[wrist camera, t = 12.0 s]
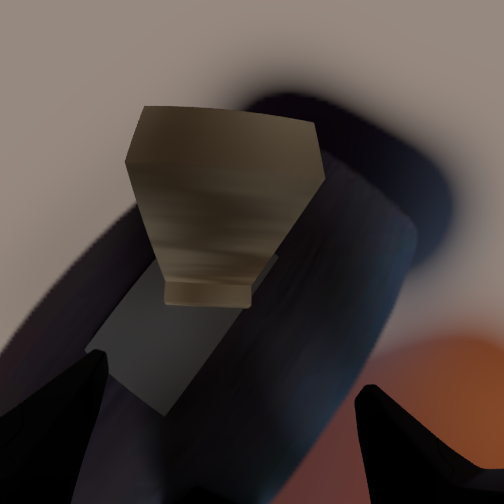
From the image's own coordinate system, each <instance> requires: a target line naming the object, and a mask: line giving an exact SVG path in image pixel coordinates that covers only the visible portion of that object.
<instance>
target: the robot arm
mask: <svg viewBox="0 0 504 504" xmlns="http://www.w3.org/2000/svg"><path fill="white" fill-rule="evenodd" d="M108 373H109V366H108V359H107V353H106V352H105V351H102V350H98V349H93V350H92V351H90V352H89V353H88V354H86V355H85V356H83V357H82V358H81V359H79V360H78V361H77V362H75V363H74V364H72V365H71V366H70V367H68V368H67V369H66V370H64V371H63V372H61V373H60V374H59V375H57V376H56V377H55V378H53V379H52V380H50V381H49V382H48V383H46V384H45V385H44V386H42V387H41V388H40V389H38V390H37V391H36V392H34V393H33V394H31V395H30V396H29V397H27V398H26V399H25V400H23V401H22V403H19V404H18V405H16V406H15V407H14V408H12V409H11V410H10V411H8V412H7V413H5V414H4V415H2V416H1V417H0V504H71V500H72V496H73V492H74V489H75V485H76V481H77V478H78V475H79V471H80V468H81V464H82V461H83V458H84V455H85V452H86V449H87V446H88V443H89V440H90V437H91V434H92V431H93V428H94V425H95V422H96V420H97V417H98V414H99V410H100V406H101V402H102V398H103V393H104V389H105V385H106V381H107V378H108ZM355 412H356V421H357V430H358V438H359V443H360V447H361V453H362V457H363V462H364V467H365V473H366V478H367V483H368V489H369V495H370V501H371V504H504V469H483V468H480V467H478V466H476V465H474V464H473V463H471V462H470V461H468V460H467V459H465V458H464V457H462V456H461V455H460V454H458V453H457V452H455V451H454V450H452V449H451V448H450V447H448V446H447V445H446V444H445V443H443V442H442V441H441V440H440V439H439V438H437V437H436V436H435V435H434V434H433V433H431V432H430V431H429V430H428V429H427V428H426V427H424V426H423V425H422V424H421V423H420V422H419V421H417V420H416V419H415V418H414V417H413V416H411V415H410V414H409V413H408V412H407V411H406V410H405V409H403V408H402V407H401V406H400V405H399V404H398V403H396V402H395V401H394V400H393V399H392V398H391V397H389V396H388V395H387V394H386V393H385V392H384V391H382V390H381V389H380V388H379V387H378V386H377V385H374V384H372V385H371V384H370V385H366V386H364V387H363V389H362V390H361V391H360V393H359V394H358V395H357V397H356V398H355ZM196 491H199V492H201V494H196V493H195V492H196ZM173 504H236V503H234V502H231V501H229V500H227V499H225V498H222V497H220V496H218V495H216V494H214V493H212V492H210V491H208V490H206V489H204V488H202V487H194V488H192V489H191V490H190V492H189V493H188V494H187V495H186V496H185V497H184V498H183V499H182V501H181V502H180V501H176V502H174V503H173Z"/></svg>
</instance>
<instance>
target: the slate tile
mask: <svg viewBox="0 0 504 504" xmlns="http://www.w3.org/2000/svg"><path fill="white" fill-rule="evenodd" d="M278 258H279V257H278V256H277V255H275V254H273V255H272V257H271V258H270V260H269V261H268V263H267V264H266V265H265V267H264V268H263V270H262V271H261V273H260V274H259V275H258V277H257V278H256V280H255V281H254V282H253V284H252V285H251V297H252V295H253V294H254V293H255V291H256V290H257V288H258V287H259V285H260V284H261V282H262V281H263V280H264V278H265V277H266V275H267V274H268V272H269V271H270V269H271V268H272V266H273V265H274V264H275V262H276V261H277V259H278ZM164 292H165V279H164V276H163V274H162V271H161V269H160V266H159V264H158V261H157V258H156V259H155V260H154V261H153V262H152V264H151V265H150V266H149V267H148V268H147V270H146V271H145V272H144V273H143V274H142V276H141V277H140V278H139V279H138V281H137V282H136V283H135V284H134V286H133V287H132V288H131V289H130V290H129V292H128V293H127V294H126V296H125V297H124V298H123V299H122V301H121V302H120V303H119V304H118V306H117V307H116V308H115V310H114V311H113V312H112V314H111V315H110V316H109V317H108V319H107V320H106V321H105V323H104V324H103V325H102V327H101V328H100V329H99V331H98V332H97V333H96V335H95V336H94V338H93V339H92V340H91V342H90V343H89V344H88V346H87V347H86V349H85V351H86V352H87V353H89V352H90V351H92V350H93V349H98V350H102V351H105V352H106V353H107V359H108V366H109V373H110V374H111V375H112V376H113V377H114V378H115V379H116V380H118V381H119V382H120V383H121V384H122V385H124V386H125V387H126V388H127V389H128V390H130V391H131V392H132V393H133V394H135V395H136V396H137V397H139V398H140V399H141V400H142V401H144V402H145V403H146V404H148V405H149V406H150V407H152V408H153V409H155V410H156V411H157V412H159V413H160V414H161V415H163V416H164V417H165V416H166V414H167V413H168V412H169V410H170V409H171V408H172V406H173V405H174V404H175V402H176V401H177V400H178V398H179V397H180V396H181V394H182V393H183V392H184V390H185V389H186V388H187V386H188V385H189V383H190V382H191V381H192V379H193V378H194V377H195V375H196V374H197V373H198V371H199V370H200V368H201V367H202V366H203V364H204V363H205V362H206V360H207V359H208V357H209V356H210V355H211V353H212V352H213V351H214V349H215V348H216V346H217V345H218V344H219V342H220V341H221V339H222V338H223V337H224V335H225V334H226V332H227V331H228V330H229V328H230V327H231V325H232V324H233V323H234V321H235V320H236V318H237V317H238V315H239V314H240V313H241V311H242V310H243V308H222V307H201V306H183V305H167V304H165V302H164Z"/></svg>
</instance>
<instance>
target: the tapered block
mask: <svg viewBox="0 0 504 504" xmlns="http://www.w3.org/2000/svg"><path fill="white" fill-rule="evenodd" d="M125 164H126V168H127V171H128V174H129V178H130V181H131V185H132V188H133V191H134V194H135V198H136V201H137V204H138V207H139V210H140V213H141V216H142V219H143V222H144V225H145V228H146V231H147V234H148V236H149V239H150V242H151V245H152V248H153V250H154V253H155V256H156V258H157V261H158V264H159V266H160V269H161V271H162V274H163V276H164V279H165V292H164V302H165V304H167V305H183V306H201V307H222V308H249V307H250V306H251V285H252V284H253V282H254V281H255V280H256V278H257V277H258V275H259V274H260V273H261V271H262V270H263V268H264V267H265V265H266V264H267V263H268V261H269V260H270V258H271V257H272V255H273V254H274V253H275V251H276V250H277V248H278V247H279V245H280V244H281V243H282V241H283V240H284V238H285V237H286V235H287V234H288V232H289V231H290V230H291V228H292V227H293V225H294V224H295V222H296V221H297V219H298V218H299V216H300V215H301V214H302V212H303V211H304V209H305V208H306V206H307V205H308V203H309V202H310V200H311V199H312V197H313V196H314V195H315V193H316V192H317V190H318V189H319V187H320V186H321V184H322V183H323V181H324V180H325V175H324V170H323V164H322V159H321V154H320V149H319V144H318V139H317V135H316V130H315V126H314V123H312V122H307V121H302V120H297V119H291V118H285V117H279V116H272V115H266V114H259V113H251V112H243V111H234V110H225V109H213V108H197V107H177V106H176V107H175V106H144V108H143V111H142V114H141V116H140V119H139V121H138V124H137V127H136V130H135V133H134V135H133V138H132V141H131V144H130V148H129V150H128V153H127V156H126V160H125Z"/></svg>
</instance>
